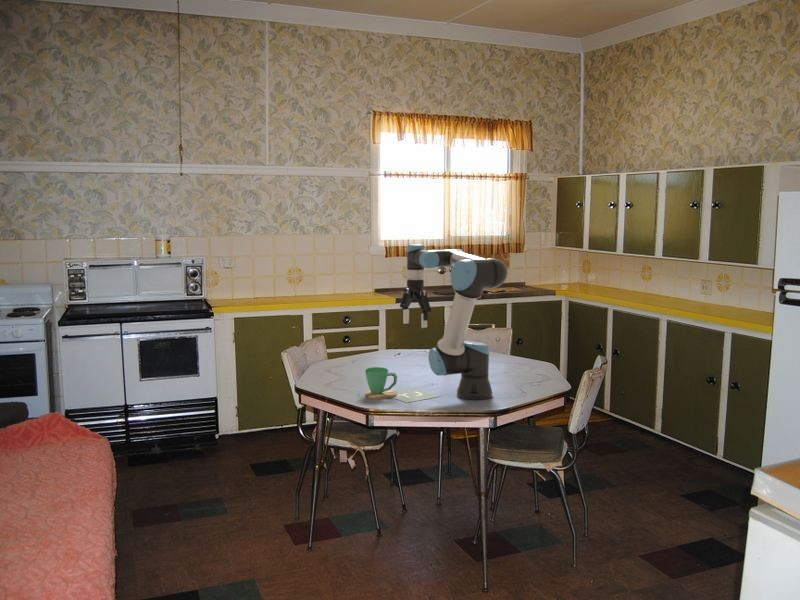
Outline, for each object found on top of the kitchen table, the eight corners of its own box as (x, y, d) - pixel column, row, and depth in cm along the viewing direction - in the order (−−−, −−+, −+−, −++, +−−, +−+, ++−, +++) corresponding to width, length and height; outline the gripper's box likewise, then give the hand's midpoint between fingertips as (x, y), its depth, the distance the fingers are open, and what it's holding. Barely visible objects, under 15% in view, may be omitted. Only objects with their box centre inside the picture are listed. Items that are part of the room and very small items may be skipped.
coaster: (404, 395, 314) (404, 394, 314) (376, 400, 306) (376, 399, 306) (385, 388, 326) (385, 387, 325) (358, 393, 317) (358, 392, 317)
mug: (361, 393, 315) (361, 370, 314) (372, 388, 324) (372, 366, 322) (391, 397, 309) (391, 374, 307) (401, 392, 317) (402, 369, 316)
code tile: (440, 396, 313) (440, 396, 313) (406, 403, 303) (406, 402, 303) (415, 387, 328) (415, 387, 328) (381, 393, 317) (381, 393, 317)
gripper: (439, 280, 322) (438, 328, 325) (405, 276, 342) (405, 320, 345) (425, 281, 318) (425, 330, 320) (392, 276, 338) (392, 322, 340)
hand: (415, 325), depth 333 cm, fingers open, 13 cm apart
